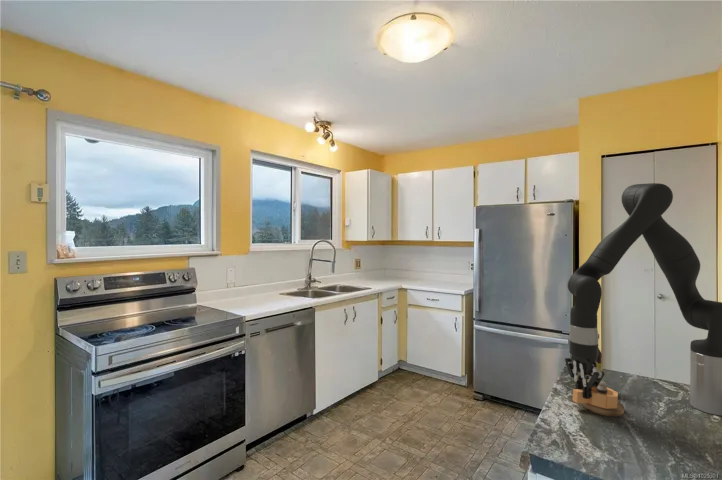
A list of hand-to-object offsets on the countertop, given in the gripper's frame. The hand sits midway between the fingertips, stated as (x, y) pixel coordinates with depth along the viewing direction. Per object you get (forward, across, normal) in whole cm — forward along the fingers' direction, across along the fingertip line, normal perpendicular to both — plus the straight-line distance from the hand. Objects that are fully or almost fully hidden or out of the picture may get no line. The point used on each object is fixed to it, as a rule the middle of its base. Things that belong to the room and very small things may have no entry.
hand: (583, 395), depth 108 cm
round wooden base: (+4, 0, -6) cm, 8 cm away
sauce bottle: (+4, +12, -13) cm, 18 cm away
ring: (+2, 0, -4) cm, 4 cm away
